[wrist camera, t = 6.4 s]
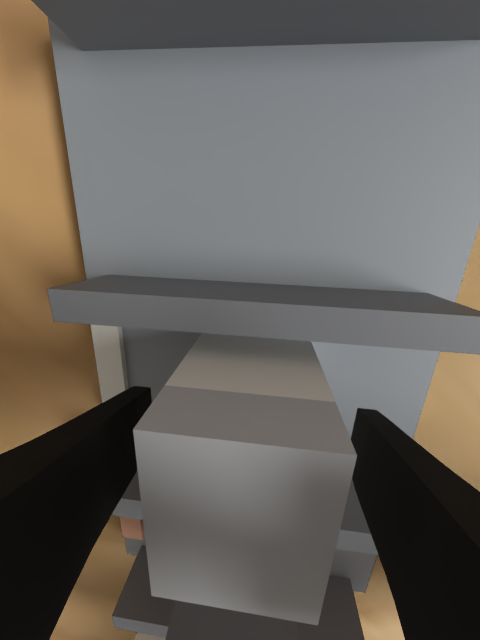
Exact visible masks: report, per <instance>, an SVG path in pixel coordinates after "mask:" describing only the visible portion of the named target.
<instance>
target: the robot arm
mask: <svg viewBox="0 0 480 640" xmlns="http://www.w3.org/2000/svg"><path fill="white" fill-rule="evenodd" d="M151 404H152V398H151V387H141V386H133V387H131V388H129V389H127V390H125V391H123V392H121V393H119V394H118V395H116V396H114V397H112V398H110V399H109V400H107V401H105V402H103V403H101V404H100V405H98V406H96V407H94V408H92V409H91V410H89V411H87V412H85V413H83V414H82V415H80V416H78V417H76V418H74V419H72V420H70V421H68V422H66V423H65V424H63V425H61V426H59V427H57V428H55V429H53V430H51V431H49V432H47V433H45V434H43V435H41V436H39V437H37V438H35V439H33V440H31V441H29V442H27V443H25V444H23V445H20V446H18V447H16V448H14V449H12V450H9V451H7V452H5V453H2V454H0V640H49V639H50V637H51V634H52V632H53V630H54V628H55V626H56V624H57V621H58V619H59V617H60V615H61V613H62V611H63V609H64V606H65V604H66V602H67V600H68V598H69V596H70V593H71V591H72V589H73V587H74V585H75V583H76V581H77V579H78V577H79V575H80V573H81V571H82V569H83V567H84V565H85V562H86V560H87V558H88V556H89V554H90V552H91V550H92V548H93V547H94V545H95V543H96V541H97V539H98V537H99V535H100V534H101V532H102V530H103V528H104V527H105V525H106V523H107V522H108V520H109V518H110V516H111V515H112V513H113V511H114V510H115V508H116V506H117V504H118V503H119V501H120V499H121V498H122V496H123V494H124V493H125V491H126V489H127V487H128V486H129V484H130V482H131V481H132V479H133V477H134V475H135V474H136V472H137V461H136V452H135V443H134V434H133V429H134V427H135V426H136V425H137V423H138V422H139V420H140V419H141V418H142V416H143V415H144V413H145V412H146V411H147V409H148V408H149V406H150V405H151ZM351 442H352V444H353V447H354V449H355V452H356V454H357V458H356V463H355V467H354V471H353V476H352V480H353V484H354V488H355V491H356V494H357V497H358V500H359V502H360V505H361V508H362V511H363V514H364V516H365V519H366V522H367V525H368V527H369V530H370V533H371V536H372V538H373V541H374V544H375V547H376V549H377V552H378V555H379V558H380V560H381V563H382V566H383V569H384V571H385V574H386V577H387V580H388V583H389V586H390V589H391V592H392V595H393V598H394V602H395V605H396V609H397V612H398V616H399V619H400V623H401V626H402V630H403V633H404V637H405V640H480V492H479V491H478V490H477V489H475V488H474V487H473V486H471V485H470V484H469V483H467V482H466V481H465V480H463V479H462V478H461V477H459V476H458V475H457V474H455V473H454V472H453V471H452V470H450V469H449V468H448V467H446V466H445V465H444V464H443V463H441V462H440V461H439V460H438V459H436V458H435V457H434V456H433V455H431V454H430V453H429V452H428V451H426V450H425V449H424V448H423V447H422V446H420V445H419V444H418V443H417V442H416V441H414V440H413V439H412V438H411V437H410V436H408V435H407V434H406V433H405V432H404V431H402V430H401V429H400V428H399V427H398V426H396V425H395V424H394V423H393V422H391V421H390V420H389V419H388V418H387V417H385V416H384V415H383V414H381V413H380V412H379V411H377V410H373V409H363V408H357V412H356V417H355V421H354V426H353V431H352V435H351Z"/></svg>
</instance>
